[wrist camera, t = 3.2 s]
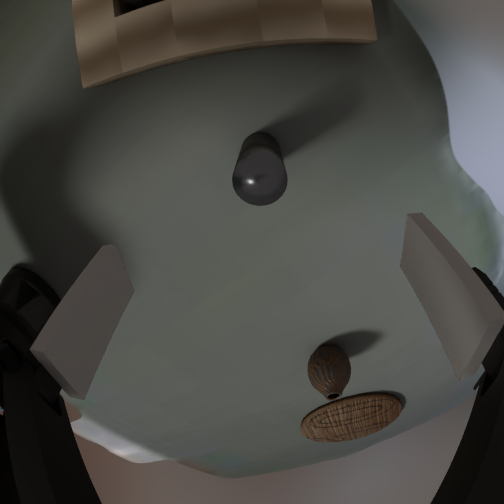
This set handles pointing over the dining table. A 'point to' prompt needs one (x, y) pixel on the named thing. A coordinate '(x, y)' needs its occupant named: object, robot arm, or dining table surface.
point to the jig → (205, 30)
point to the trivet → (351, 417)
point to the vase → (329, 371)
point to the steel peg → (260, 170)
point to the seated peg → (142, 2)
